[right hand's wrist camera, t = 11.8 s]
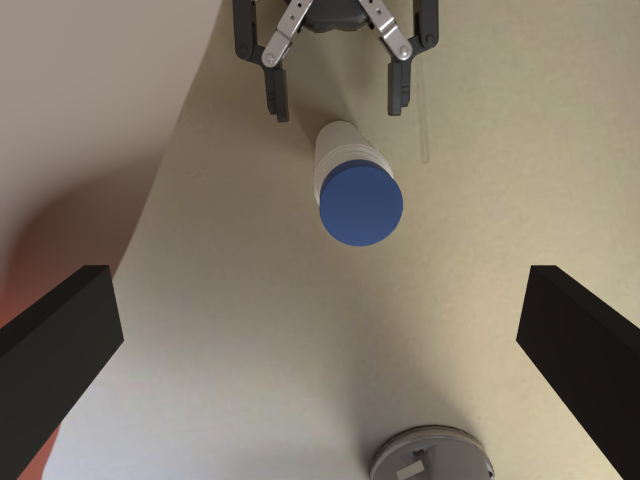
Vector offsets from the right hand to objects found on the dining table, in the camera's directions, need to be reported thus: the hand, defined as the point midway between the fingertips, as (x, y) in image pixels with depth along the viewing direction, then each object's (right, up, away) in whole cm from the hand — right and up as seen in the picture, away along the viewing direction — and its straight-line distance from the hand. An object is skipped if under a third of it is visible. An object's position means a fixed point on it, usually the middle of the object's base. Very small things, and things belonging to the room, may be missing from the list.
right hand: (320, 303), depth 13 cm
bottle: (+2, +11, +25) cm, 27 cm away
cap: (+2, +4, +5) cm, 7 cm away
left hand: (+1, +11, +18) cm, 22 cm away
